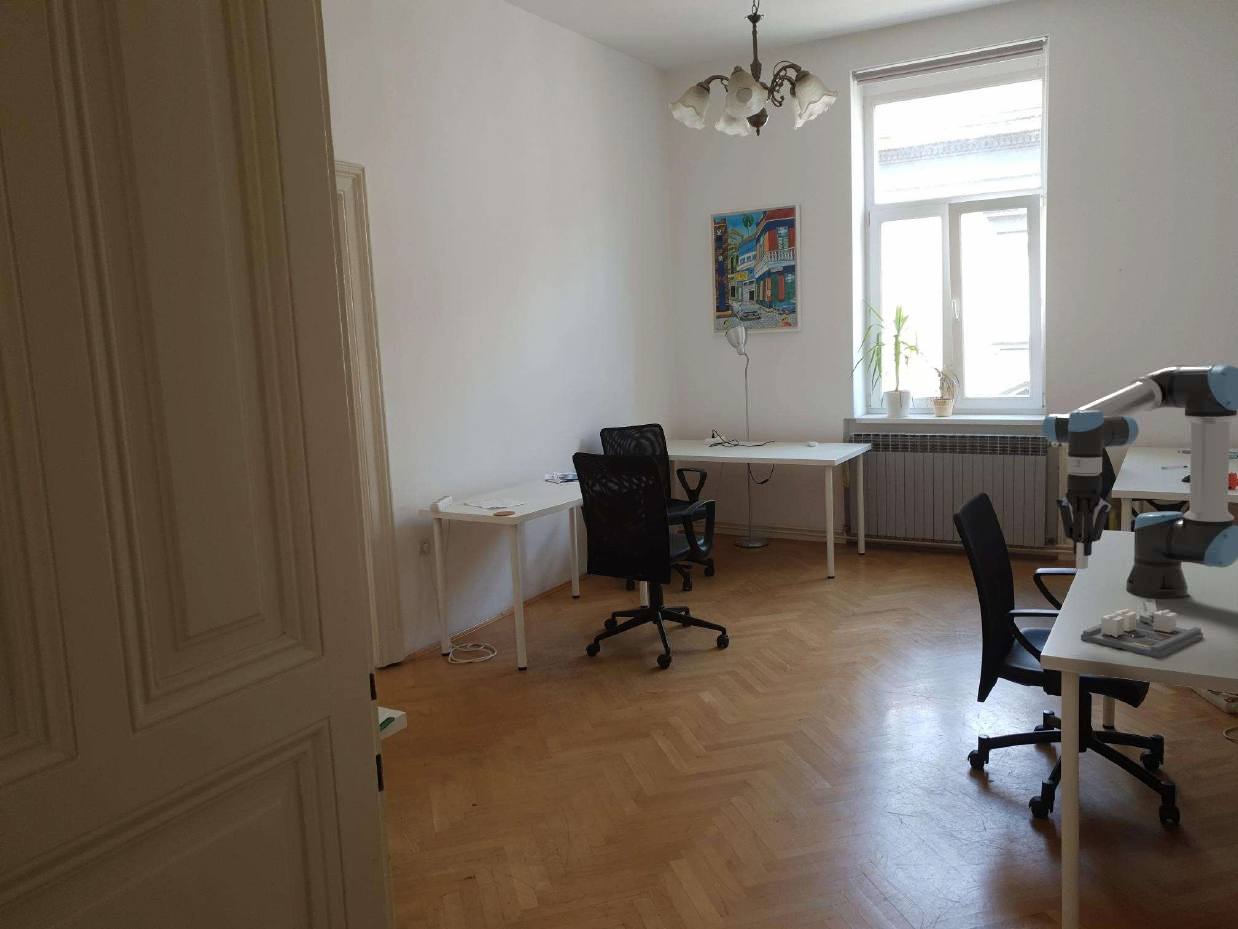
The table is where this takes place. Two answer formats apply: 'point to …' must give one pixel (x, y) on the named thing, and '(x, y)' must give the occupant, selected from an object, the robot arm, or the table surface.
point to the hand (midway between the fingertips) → (1081, 567)
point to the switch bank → (1145, 639)
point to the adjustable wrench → (1148, 611)
